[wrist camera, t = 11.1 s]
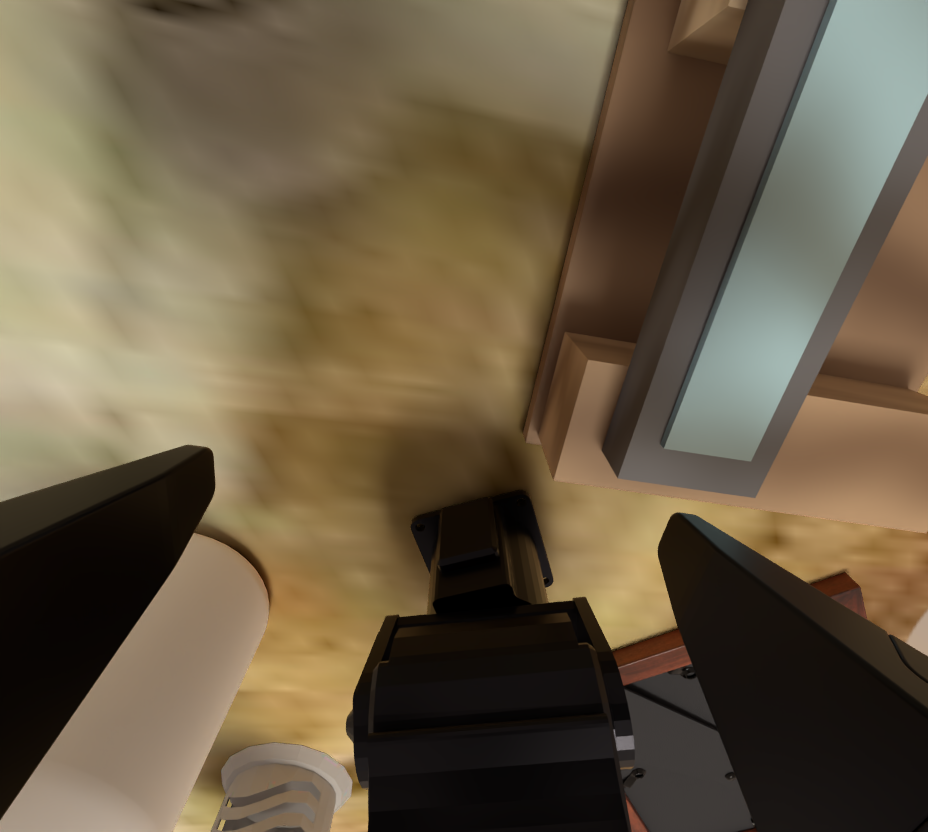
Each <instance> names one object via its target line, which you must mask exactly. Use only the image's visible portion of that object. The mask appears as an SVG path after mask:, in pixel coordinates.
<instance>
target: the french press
mask: <svg viewBox="0 0 928 832" xmlns="http://www.w3.org/2000/svg"><path fill="white" fill-rule="evenodd" d="M221 775H222V785H223V788H224V790H225V793H226V795H225V798H224V800H223V803H222V805H221V808H220V810H219V812H218V815H217V817H216V820H215V822H214V825H213V827H212V830H211V832H330V828H331V823H332V818H333V814H334V813H335V812H336V811H337V810H339V809H340V808H341V807H342V806H343V804H344V803H345V802H346V801H347V800H348V799H349V798H350V797H351V790H352V780H351V778H350V776H349V775H348V773H347V771H346V769H345V768H344V766H342V765H341V764H340V763H338V762H337V761H335V760H334V759H333V758H331V757H330V756H329V755H327V754H325V753H323V752H320V751H317V750H314V749H311V748H308V747H305V746H302V745H294V744H284V743H269V744H262V745H256V746H250V747H247V748H245V749H243V750H241V751H240V752H238V753H236V754H234V755H232V756H230V757H229V759H228V760H227V762H226V763H225V765H224V766H223V768H222V769H221ZM229 799H230V802H231V803H232V806H231V808H230V807H226V806H227V804H228V801H229ZM221 819H223V820H226V822H225V824H224V827H223V829H222V831H220V830H217V829H218V827H219V824H220V821H221Z"/></svg>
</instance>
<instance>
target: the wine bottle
mask: <svg viewBox="0 0 928 832" xmlns="http://www.w3.org/2000/svg"><path fill="white" fill-rule="evenodd" d="M268 616H269V599H268V593H267V590H266V587H265V585H264V582H263V580H262V579H261V577H260V575H259V574H258V572H257V571H256V569H255V568H254V567H253V566H252V565H251V564H250V563H249V561H248V560H246V559H245V558H244V557H243V556H242V555H240V554H239V553H238V552H237V551H235V550H234V549H232V548H230V547H229V546H227V545H225V544H224V543H221V542H219V541H217V540H215V539H212V538H210V537H206V536H203V535H200V534H197V533H193V535H192V537H191V539H190V541H189V543H188V545H187V547H186V548H185V550H184V552H183V554H182V556H181V558H180V559H179V561H178V563H177V564H176V566H175V568H174V569H173V571H172V572H171V574H170V575H169V577H168V578H167V580H166V581H165V583H164V584H163V586H162V587H161V588H160V590H159V591H158V593H157V594H156V596H155V597H154V599H153V600H152V602H151V603H150V604H149V606H148V607H147V609H146V610H145V612H144V613H143V615H142V616H141V617H140V619H139V620H138V622H137V623H136V625H135V626H134V628H133V629H132V630H131V632H130V633H129V635H128V636H127V638H126V639H125V641H124V642H123V643H122V645H121V646H120V648H119V649H118V651H117V652H116V654H115V655H114V657H113V658H112V659H111V661H110V662H109V664H108V665H107V667H106V668H105V670H104V671H103V672H102V674H101V675H100V677H99V678H98V680H97V681H96V683H95V684H94V685H93V687H92V688H91V690H90V691H89V693H88V694H87V696H86V697H85V698H84V700H83V701H82V703H81V704H80V706H79V707H78V709H77V710H76V712H75V713H74V714H73V716H72V717H71V719H70V720H69V722H68V723H67V725H66V726H65V727H64V729H63V730H62V732H61V733H60V735H59V736H58V738H57V739H56V740H55V742H54V743H53V745H52V746H51V748H50V749H49V751H48V752H47V754H46V755H45V756H44V758H43V759H42V761H41V762H40V764H39V765H38V767H37V768H36V769H35V771H34V772H33V774H32V775H31V777H30V778H29V780H28V781H27V782H26V784H25V785H24V787H23V788H22V790H21V791H20V793H19V794H18V795H17V797H16V798H15V800H14V801H13V803H12V804H11V806H10V807H9V809H8V810H7V811H6V813H5V814H4V816H3V817H2V819H1V820H0V832H173V830H174V827H175V825H176V823H177V821H178V819H179V817H180V814H181V812H182V810H183V808H184V806H185V804H186V801H187V799H188V797H189V795H190V793H191V791H192V788H193V786H194V784H195V782H196V780H197V778H198V775H199V773H200V771H201V769H202V767H203V765H204V762H205V760H206V758H207V756H208V754H209V752H210V749H211V747H212V745H213V743H214V741H215V739H216V736H217V734H218V732H219V730H220V728H221V726H222V724H223V721H224V719H225V717H226V715H227V713H228V711H229V708H230V706H231V704H232V702H233V700H234V698H235V695H236V693H237V691H238V689H239V687H240V685H241V682H242V680H243V678H244V676H245V674H246V672H247V669H248V667H249V665H250V663H251V661H252V659H253V656H254V654H255V652H256V650H257V648H258V646H259V643H260V641H261V639H262V637H263V635H264V632H265V629H266V626H267V622H268Z"/></svg>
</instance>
